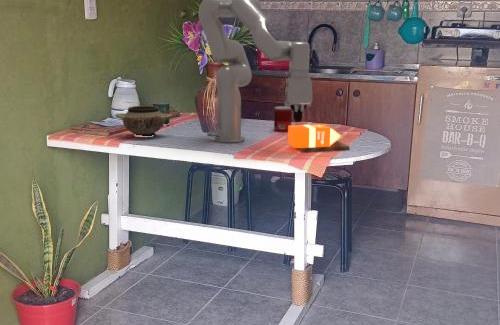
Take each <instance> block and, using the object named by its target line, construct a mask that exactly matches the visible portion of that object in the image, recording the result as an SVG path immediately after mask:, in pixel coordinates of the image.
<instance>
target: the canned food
mask: <svg viewBox="0 0 500 325" xmlns="http://www.w3.org/2000/svg"><path fill="white" fill-rule="evenodd" d="M273 111H274V112H273V113H274V114H273V115H274V117H273V119H274V120H273V129H274V132H277V133H288V126H289V125H292V116H293V115H292V113H293V110H292V109H291V108H290V107H286V106H285V105H284V106H283V105H282V106H281V105H280V106H275V107H274V110H273Z"/></svg>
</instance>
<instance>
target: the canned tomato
mask: <svg viewBox="0 0 500 325" xmlns="http://www.w3.org/2000/svg"><path fill="white" fill-rule="evenodd" d="M152 106H157V107H159V111H160V112H161V113H162V114H170V102H167V101H155V102H152ZM170 122H171V121H170V119H166V120H165V121H164V124H168V123H170Z"/></svg>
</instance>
